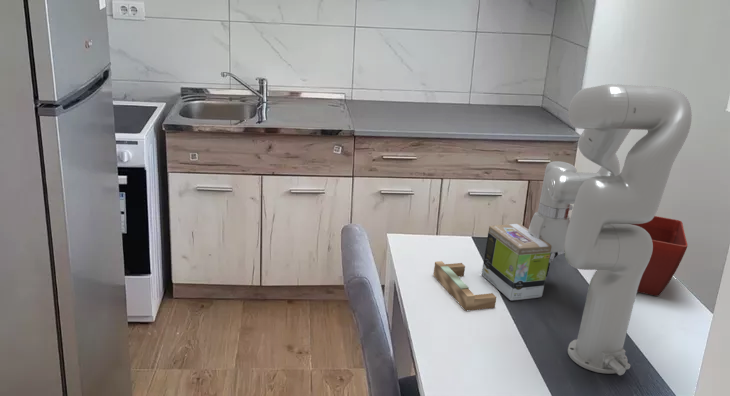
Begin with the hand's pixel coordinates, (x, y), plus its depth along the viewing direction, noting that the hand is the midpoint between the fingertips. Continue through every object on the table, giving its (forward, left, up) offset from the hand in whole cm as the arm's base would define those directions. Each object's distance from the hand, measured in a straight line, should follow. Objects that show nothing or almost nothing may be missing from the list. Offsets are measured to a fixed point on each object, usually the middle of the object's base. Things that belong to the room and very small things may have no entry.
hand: (541, 274), depth 184 cm
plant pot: (-3, -28, -4) cm, 28 cm away
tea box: (+1, +8, -3) cm, 9 cm away
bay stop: (+1, +22, -3) cm, 22 cm away
